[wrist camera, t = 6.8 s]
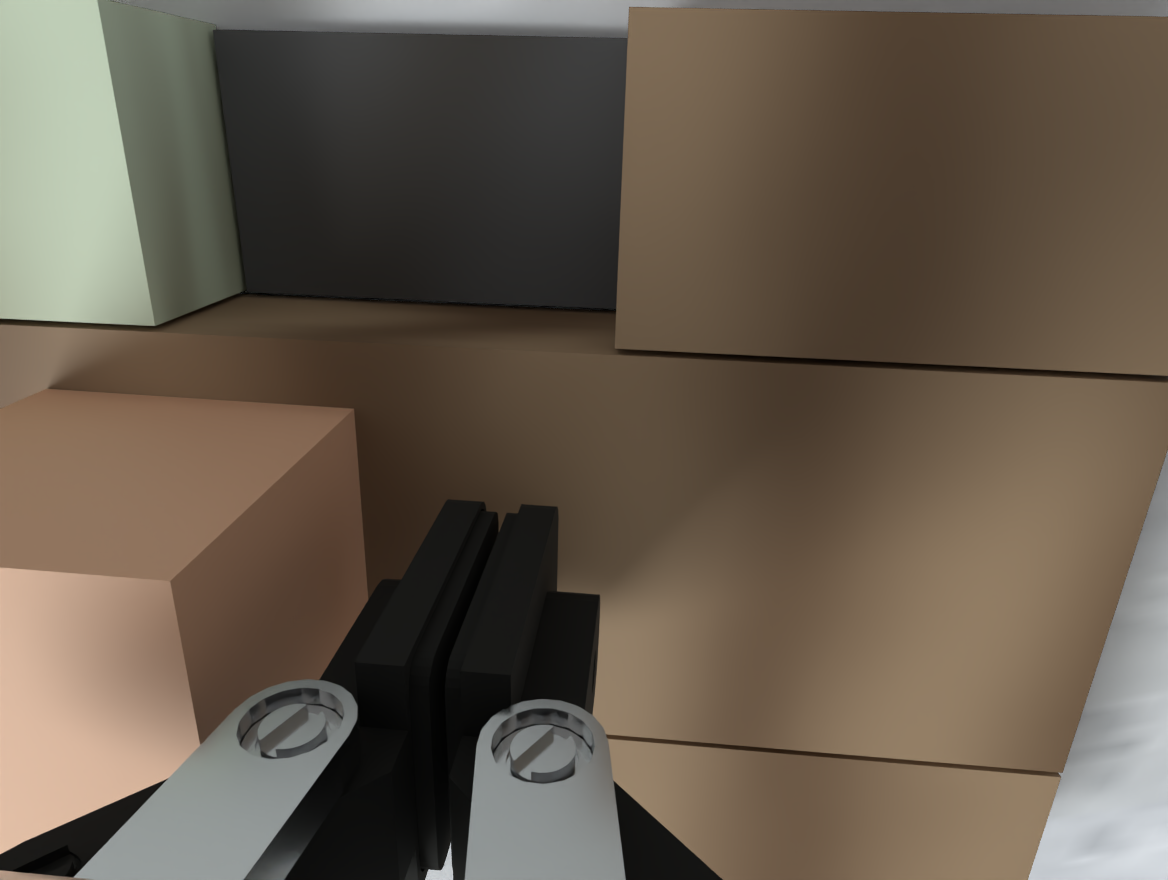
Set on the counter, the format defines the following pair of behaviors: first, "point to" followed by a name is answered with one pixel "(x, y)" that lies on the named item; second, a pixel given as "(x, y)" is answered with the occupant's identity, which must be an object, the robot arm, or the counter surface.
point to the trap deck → (671, 357)
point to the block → (159, 582)
